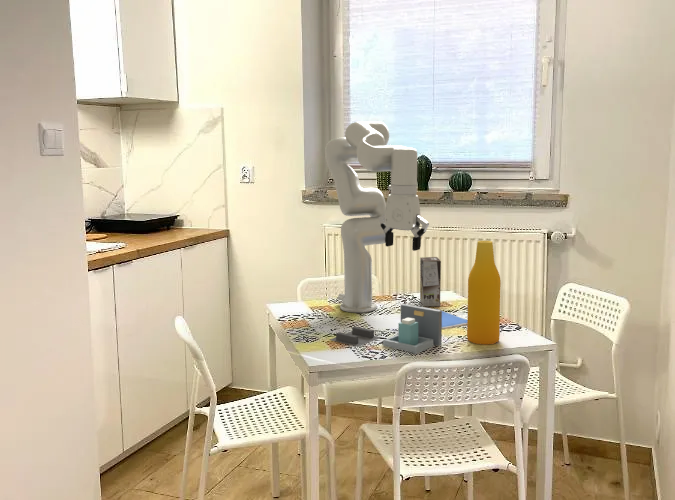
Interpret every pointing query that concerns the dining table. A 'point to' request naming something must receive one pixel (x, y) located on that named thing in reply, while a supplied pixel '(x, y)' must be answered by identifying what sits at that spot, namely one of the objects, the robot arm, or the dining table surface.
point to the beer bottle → (484, 297)
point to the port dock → (420, 329)
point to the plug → (408, 331)
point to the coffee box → (430, 281)
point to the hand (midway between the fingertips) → (402, 247)
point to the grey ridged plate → (356, 337)
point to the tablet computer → (452, 321)
